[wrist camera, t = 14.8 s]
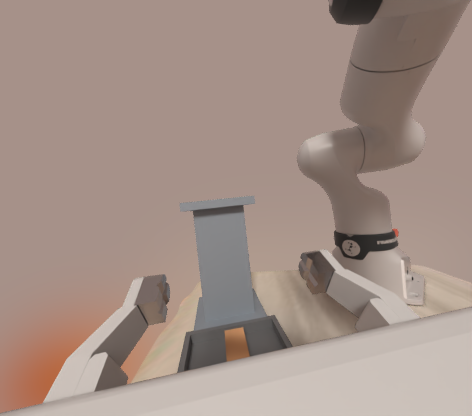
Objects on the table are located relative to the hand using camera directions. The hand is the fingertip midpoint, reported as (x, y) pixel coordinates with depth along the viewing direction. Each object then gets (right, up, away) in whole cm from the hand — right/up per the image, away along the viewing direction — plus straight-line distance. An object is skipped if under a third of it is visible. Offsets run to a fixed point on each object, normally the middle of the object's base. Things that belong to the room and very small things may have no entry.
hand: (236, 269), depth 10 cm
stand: (-1, -20, +28) cm, 34 cm away
